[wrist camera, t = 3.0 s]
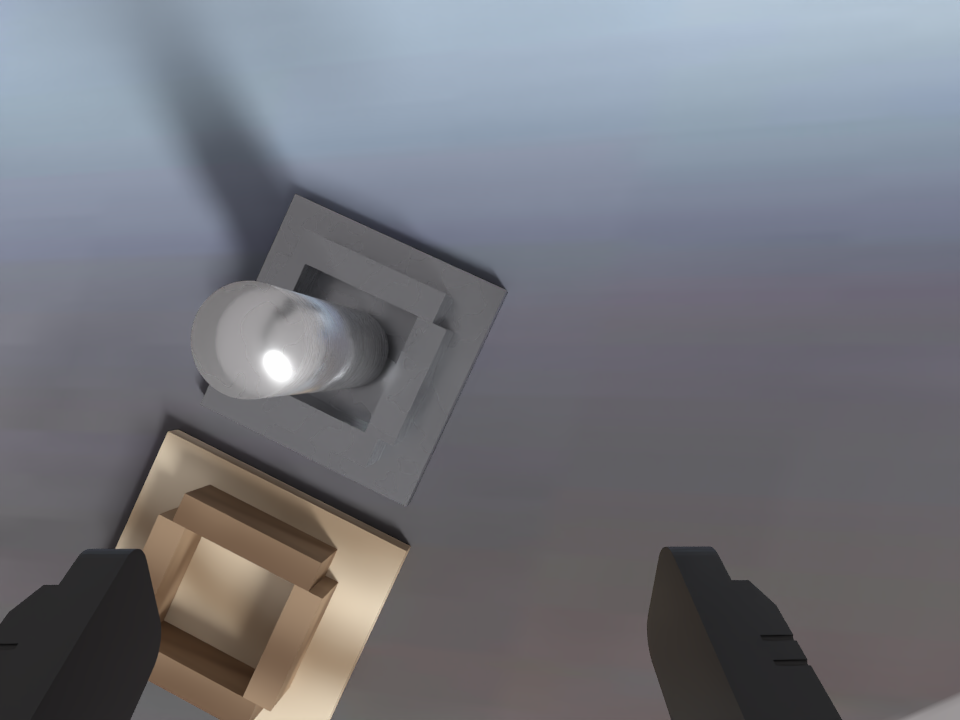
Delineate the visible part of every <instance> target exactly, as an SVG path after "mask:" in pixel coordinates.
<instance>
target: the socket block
mask: <svg viewBox="0 0 960 720" xmlns="http://www.w3.org/2000/svg"><path fill="white" fill-rule="evenodd" d="M256 281H258V282H262V283H266V284H270V285H273V286H276V287H280V288H283V289H287V290H290V291H294V292H297V293H301V294H304V295H307V296H311V297H314V298H318V299H321V300H325V301H328V302H331V303H335V304H338V305H342V306H345V307H349V308H352V309H356V310H359V311H362V312H365V313H367V314H369V315H371V316H372V317H373V318H375V319H376V320H377V321H378V322H379V323H380V325H381V326H382V328H383V329H384V331H385V334H386V336H387V340H388V350H389V351H388V357H387V361H386V364H385V366H384V368H383V370H382V371H381V373H380V374H379V375H378V376H377V377H376V378H375V379H374V380H373V381H371V382H370V383H368V384H366V385H364V386H361V387H356V388H349V389H340V390H331V391H322V392H313V393H304V394H296V395H287V396H278V397H269V398H260V399H247V400H244V399H237V398H233V397H229V396H227V395H225V394H222V393H221V392H219V391H217V390H216V389H214V388H213V387H212V386H211V385H210V384H209V386H208V389H207V391H206V393H205V395H204V397H203V400H202V402H201V404H200V405H201V406H203V407H205V408H207V409H210V410H212V411H214V412H216V413H218V414H220V415H222V416H224V417H226V418H228V419H230V420H232V421H234V422H236V423H238V424H240V425H242V426H244V427H246V428H248V429H250V430H252V431H254V432H256V433H258V434H260V435H262V436H264V437H266V438H268V439H270V440H272V441H274V442H276V443H278V444H280V445H282V446H284V447H286V448H288V449H290V450H292V451H294V452H296V453H298V454H300V455H302V456H304V457H306V458H308V459H310V460H312V461H314V462H316V463H318V464H320V465H322V466H324V467H326V468H328V469H330V470H332V471H334V472H336V473H338V474H340V475H342V476H344V477H346V478H348V479H350V480H352V481H355V482H357V483H359V484H361V485H363V486H365V487H367V488H369V489H371V490H373V491H375V492H377V493H379V494H381V495H383V496H385V497H387V498H389V499H391V500H393V501H395V502H397V503H399V504H401V505H403V506H405V507H406V506H407V505H408V504H409V503H410V502H411V499H412V497H413V495H414V493H415V491H416V489H417V487H418V484H419V482H420V480H421V478H422V476H423V474H424V471H425V469H426V467H427V465H428V463H429V461H430V459H431V456H432V454H433V452H434V450H435V448H436V446H437V443H438V441H439V439H440V437H441V435H442V433H443V431H444V428H445V426H446V424H447V422H448V420H449V418H450V416H451V413H452V411H453V409H454V407H455V405H456V403H457V400H458V398H459V396H460V394H461V392H462V390H463V388H464V385H465V383H466V381H467V379H468V377H469V375H470V372H471V370H472V368H473V366H474V364H475V362H476V360H477V357H478V355H479V353H480V351H481V349H482V347H483V344H484V342H485V340H486V338H487V336H488V334H489V332H490V329H491V327H492V325H493V323H494V321H495V319H496V317H497V314H498V312H499V310H500V308H501V306H502V304H503V301H504V299H505V297H506V295H507V293H508V292H507V290H505V289H503V288H500V287H498V286H496V285H494V284H492V283H490V282H487V281H485V280H483V279H481V278H479V277H476V276H474V275H472V274H470V273H468V272H465V271H463V270H461V269H459V268H457V267H454V266H452V265H450V264H448V263H446V262H444V261H441V260H439V259H437V258H435V257H433V256H430V255H428V254H426V253H424V252H422V251H419V250H417V249H415V248H413V247H411V246H408V245H406V244H404V243H402V242H400V241H398V240H395V239H393V238H391V237H389V236H387V235H384V234H382V233H380V232H378V231H376V230H373V229H371V228H369V227H367V226H365V225H362V224H360V223H358V222H356V221H354V220H352V219H349V218H347V217H345V216H343V215H341V214H338V213H336V212H334V211H332V210H330V209H327V208H325V207H323V206H321V205H319V204H316V203H314V202H312V201H310V200H308V199H305V198H303V197H301V196H299V195H297V194H295V195H294V198H293V200H292V202H291V204H290V207H289V209H288V211H287V213H286V215H285V218H284V220H283V222H282V224H281V227H280V229H279V231H278V233H277V235H276V238H275V240H274V242H273V244H272V246H271V249H270V251H269V253H268V255H267V258H266V260H265V262H264V264H263V266H262V269H261V271H260V273H259V275H258V278H257V280H256Z"/></svg>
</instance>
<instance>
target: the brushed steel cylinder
mask: <svg viewBox="0 0 960 720" xmlns="http://www.w3.org/2000/svg"><path fill="white" fill-rule="evenodd" d="M191 350H192V355H193V359H194V362H195V364H196V367H197V369H198V370H199V372H200V374H201V375H202V376H203V378H204V379H205V380H206V381H207V382H208V383H209V384H210V385H211V386H212V387H213V388H214V389H216V390H217V391H219V392H221V393H222V394H225V395H227V396H229V397H233V398H237V399H244V400H247V399H260V398H269V397H278V396H287V395H296V394H304V393H313V392H322V391H331V390H340V389H349V388H356V387H361V386H364V385H366V384H368V383H370V382H371V381H373V380H374V379H375V378H376V377H377V376H378V375H379V374H380V373H381V371H382V370H383V368H384V366H385V364H386V361H387V357H388V351H389V350H388V340H387V336H386V334H385V331H384V329H383V328H382V326H381V325H380V323H379V322H378V321H377V320H376V319H375V318H373V317H372V316H371V315H369V314H367V313H365V312H362V311H359V310H356V309H352V308H349V307H345V306H342V305H338V304H335V303H331V302H328V301H325V300H321V299H318V298H314V297H311V296H307V295H304V294H301V293H297V292H294V291H290V290H287V289H283V288H280V287H276V286H273V285H270V284H266V283H262V282H258V281H239V282H234V283H231V284H228V285H226V286H224V287H221V288H220V289H218V290H217V291H215V292H214V293H213V294H212V295H210V296H209V297H208V298H207V299H206V301H205V302H204V303H203V304H202V306H201V307H200V309H199V311H198V312H197V314H196V317H195V319H194V322H193V326H192V330H191Z"/></svg>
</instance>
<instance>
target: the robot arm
mask: <svg viewBox="0 0 960 720" xmlns="http://www.w3.org/2000/svg"><path fill="white" fill-rule="evenodd" d="M647 637H648V646H649V651H650V656H651V659H652V663H653V666H654V669H655V672H656V675H657V678H658V681H659V684H660V687H661V690H662V693H663V696H664V699H665V702H666V705H667V708H668V711H669V714H670V717H671V720H842V719H841V717H840V715H839V714H838V712H837V710H836V708H835V707H834V705H833V703H832V701H831V700H830V698H829V696H828V695H827V693H826V691H825V689H824V688H823V686H822V684H821V682H820V681H819V679H818V677H817V675H816V674H815V672H814V670H813V668H812V667H811V666H808V664H807V658H806V656H805V655H804V653H803V651H802V649H801V648H800V646H799V644H798V642H797V641H794V640H793V634H792V632H791V630H790V629H789V627H788V625H787V623H786V622H785V620H784V618H783V616H782V615H781V613H780V611H779V609H778V608H777V606H776V605H775V604H774V603H773V602H772V601H771V600H770V599H769V598H768V597H766V596H765V595H764V594H763V593H762V592H761V591H760V590H759V589H758V588H757V587H755V586H754V585H753V584H752V583H751V582H750V581H749V580H731V578H730V576H729V575H728V573H727V571H726V569H725V567H724V565H723V563H722V561H721V559H720V557H719V555H718V554H717V552H716V551H715V550H714V549H713V548H712V547H664V548H663V549H662V550H661V552H660V555H659V560H658V565H657V570H656V576H655V581H654V586H653V592H652V597H651V602H650V608H649V613H648V620H647ZM160 642H161V621H160V616H159V612H158V608H157V603H156V599H155V594H154V590H153V586H152V581H151V577H150V572H149V568H148V563H147V559H146V556H145V554H144V552H143V551H142V550H141V549H87V550H85V551H83V552H82V553H81V554H80V555H79V556H78V558H77V559H76V561H75V562H74V563H73V565H72V566H71V568H70V569H69V571H68V572H67V574H66V575H65V577H64V578H63V579H62V581H61V582H60V584H59V585H43V586H42V587H41V588H39V589H38V590H37V591H35V592H34V593H33V594H32V595H30V596H29V597H28V598H27V599H25V600H24V601H23V602H21V603H20V604H19V605H18V606H16V607H15V608H14V609H12V610H11V611H10V612H9V613H8V614H7V616H6V617H5V618H4V620H3V621H2V622H1V624H0V720H130V719H131V717H132V715H133V712H134V710H135V708H136V706H137V704H138V701H139V699H140V697H141V695H142V692H143V690H144V688H145V686H146V684H147V681H148V679H149V677H150V675H151V673H152V670H153V668H154V666H155V663H156V660H157V657H158V653H159V648H160Z"/></svg>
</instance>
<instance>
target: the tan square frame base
mask: <svg viewBox="0 0 960 720" xmlns="http://www.w3.org/2000/svg"><path fill="white" fill-rule="evenodd" d="M410 547H411V546H409V545H407V544H405V543H403V542H401V541H399V540H397V539H395V538H393V537H391V536H389V535H387V534H385V533H383V532H381V531H379V530H377V529H375V528H373V527H371V526H369V525H367V524H365V523H363V522H361V521H359V520H357V519H355V518H354V517H352V516H350V515H348V514H346V513H344V512H342V511H340V510H338V509H336V508H334V507H332V506H330V505H328V504H326V503H324V502H322V501H320V500H318V499H316V498H314V497H312V496H310V495H308V494H306V493H304V492H302V491H300V490H298V489H296V488H294V487H292V486H290V485H288V484H286V483H284V482H282V481H280V480H278V479H276V478H274V477H272V476H270V475H268V474H266V473H264V472H262V471H260V470H258V469H256V468H254V467H252V466H250V465H248V464H246V463H244V462H242V461H240V460H238V459H236V458H234V457H232V456H230V455H228V454H226V453H224V452H222V451H220V450H218V449H216V448H214V447H212V446H210V445H208V444H206V443H204V442H202V441H200V440H198V439H196V438H194V437H192V436H190V435H188V434H186V433H184V432H182V431H180V430H172V431H168V432H167V435H166V437H165V439H164V441H163V444H162V446H161V448H160V450H159V452H158V455H157V457H156V459H155V461H154V464H153V466H152V468H151V470H150V473H149V475H148V477H147V479H146V481H145V484H144V486H143V488H142V490H141V493H140V495H139V497H138V499H137V501H136V504H135V506H134V508H133V510H132V513H131V515H130V517H129V519H128V521H127V524H126V526H125V528H124V530H123V533H122V535H121V537H120V539H119V541H118V544H117V546H116V548H115V549H141V550H142V551H143V552H144V554H145V556H146V559H147V563H148V568H149V572H150V577H151V581H152V586H153V590H154V594H155V599H156V603H157V608H158V612H159V616H160V621H161V642H160V648H159V653H158V657H157V660H156V663H155V666H154V668H153V670H152V673H151V675H150V677H149V679H148V681H150V682H152V683H154V684H156V685H157V686H159V687H161V688H163V689H165V690H167V691H169V692H170V693H172V694H174V695H176V696H178V697H180V698H181V699H183V700H185V701H187V702H189V703H191V704H192V705H194V706H196V707H198V708H200V709H202V710H203V711H205V712H207V713H209V714H211V715H213V716H214V717H216V718H218V719H220V720H330V719H331V717H332V715H333V713H334V710H335V708H336V706H337V704H338V702H339V700H340V697H341V695H342V693H343V691H344V689H345V687H346V685H347V682H348V680H349V678H350V676H351V674H352V672H353V670H354V667H355V665H356V663H357V661H358V659H359V657H360V655H361V652H362V650H363V648H364V646H365V644H366V642H367V640H368V637H369V635H370V633H371V631H372V629H373V627H374V624H375V622H376V620H377V618H378V616H379V614H380V612H381V609H382V607H383V605H384V603H385V601H386V599H387V597H388V594H389V592H390V590H391V588H392V586H393V584H394V582H395V579H396V577H397V575H398V573H399V571H400V569H401V567H402V564H403V562H404V560H405V558H406V556H407V554H408V551H409V549H410Z"/></svg>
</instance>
